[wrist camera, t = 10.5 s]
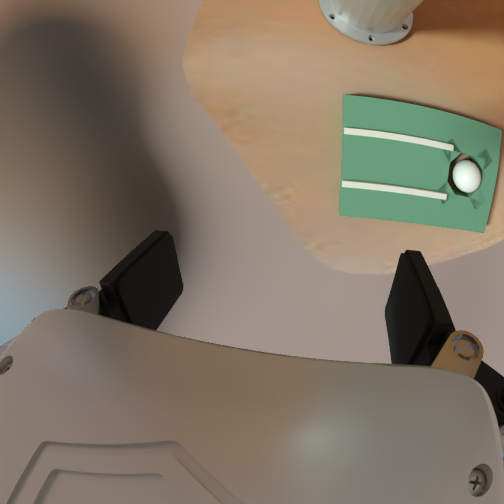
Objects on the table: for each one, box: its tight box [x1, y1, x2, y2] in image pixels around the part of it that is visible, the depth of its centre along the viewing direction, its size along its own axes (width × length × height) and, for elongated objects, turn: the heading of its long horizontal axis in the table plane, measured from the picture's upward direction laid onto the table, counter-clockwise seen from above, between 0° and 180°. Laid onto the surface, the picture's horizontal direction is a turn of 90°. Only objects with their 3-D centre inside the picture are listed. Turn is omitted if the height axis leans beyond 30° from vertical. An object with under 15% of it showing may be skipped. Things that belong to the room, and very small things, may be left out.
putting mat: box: [339, 95, 502, 233], centre depth 29 cm, size 16×24×3 cm, turn 93°
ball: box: [453, 160, 481, 193], centre depth 27 cm, size 4×4×4 cm
